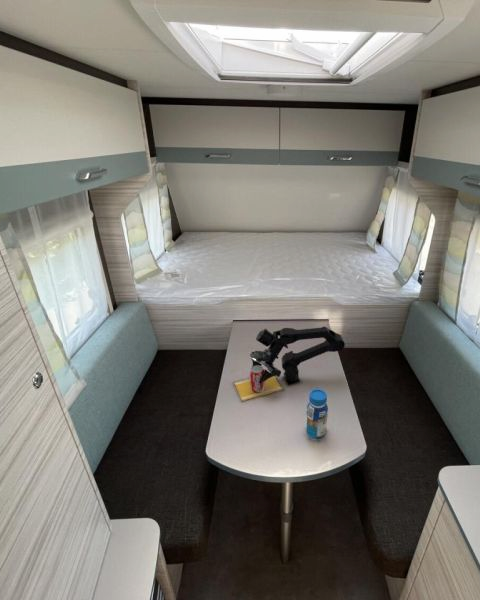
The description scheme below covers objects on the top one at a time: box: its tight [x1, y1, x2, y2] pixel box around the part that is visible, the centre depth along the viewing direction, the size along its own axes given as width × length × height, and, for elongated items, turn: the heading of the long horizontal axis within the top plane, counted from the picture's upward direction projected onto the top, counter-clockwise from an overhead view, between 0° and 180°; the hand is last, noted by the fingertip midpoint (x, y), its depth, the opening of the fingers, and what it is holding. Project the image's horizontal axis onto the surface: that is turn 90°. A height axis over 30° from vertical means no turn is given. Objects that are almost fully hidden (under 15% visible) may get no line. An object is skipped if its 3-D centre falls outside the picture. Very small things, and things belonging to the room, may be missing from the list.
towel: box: [233, 376, 283, 402], centre depth 159 cm, size 20×14×1 cm
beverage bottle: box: [305, 388, 329, 441], centre depth 128 cm, size 8×8×20 cm
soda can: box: [249, 365, 265, 393], centre depth 154 cm, size 7×7×12 cm
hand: (255, 379), depth 153 cm, fingers closed on soda can, 7 cm apart
